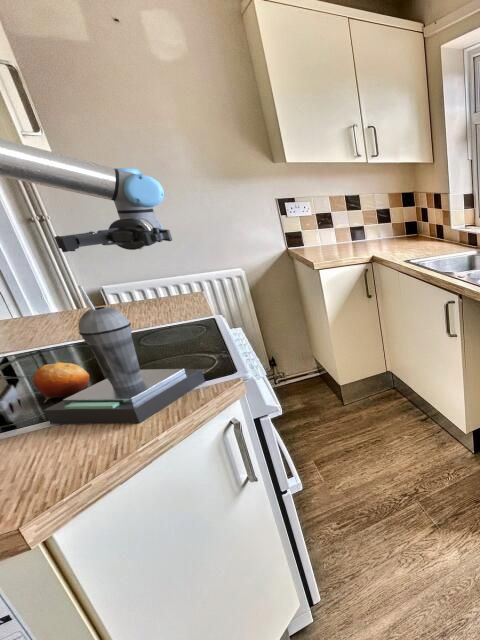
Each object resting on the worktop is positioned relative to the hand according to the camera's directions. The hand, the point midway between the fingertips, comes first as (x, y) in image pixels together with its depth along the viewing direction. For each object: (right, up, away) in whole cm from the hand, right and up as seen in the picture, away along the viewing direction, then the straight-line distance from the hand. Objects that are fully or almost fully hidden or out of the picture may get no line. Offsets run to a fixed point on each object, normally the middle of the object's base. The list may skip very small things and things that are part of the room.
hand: (105, 242), depth 90 cm
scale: (+11, -33, -5) cm, 35 cm away
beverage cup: (+11, -30, -6) cm, 32 cm away
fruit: (-6, -32, -1) cm, 33 cm away
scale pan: (+11, -30, -6) cm, 33 cm away
